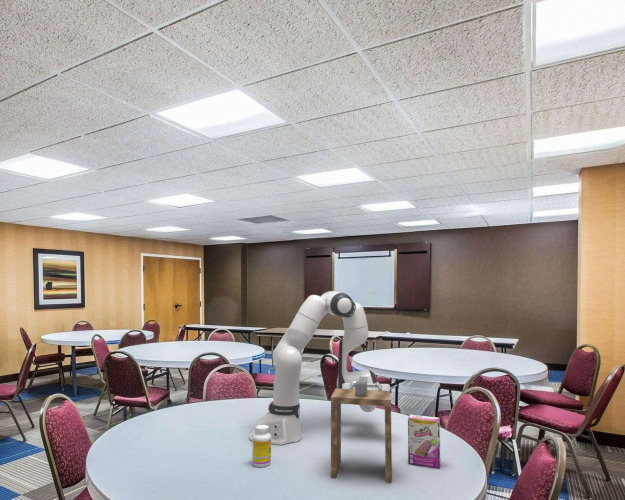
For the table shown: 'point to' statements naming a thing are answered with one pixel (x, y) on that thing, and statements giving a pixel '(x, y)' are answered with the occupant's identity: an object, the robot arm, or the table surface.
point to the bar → (361, 387)
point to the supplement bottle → (261, 447)
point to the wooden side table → (336, 400)
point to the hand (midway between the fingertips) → (365, 383)
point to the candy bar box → (424, 441)
